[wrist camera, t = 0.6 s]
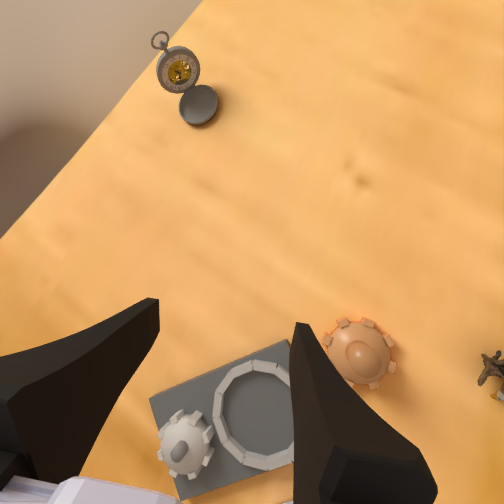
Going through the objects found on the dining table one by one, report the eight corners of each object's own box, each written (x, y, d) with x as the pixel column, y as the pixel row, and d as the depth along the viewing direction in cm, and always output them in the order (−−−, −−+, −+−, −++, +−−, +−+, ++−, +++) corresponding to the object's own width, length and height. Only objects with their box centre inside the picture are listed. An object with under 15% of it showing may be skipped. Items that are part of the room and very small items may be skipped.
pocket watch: (207, 132, 41) (175, 83, 31) (166, 116, 43) (125, 66, 33) (230, 87, 41) (206, 25, 31) (189, 73, 43) (154, 11, 33)
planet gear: (406, 371, 31) (427, 389, 25) (340, 395, 32) (347, 417, 26) (371, 305, 32) (384, 309, 27) (310, 331, 33) (311, 339, 28)
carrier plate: (332, 440, 31) (336, 468, 26) (186, 492, 34) (165, 526, 29) (286, 338, 34) (283, 347, 29) (154, 394, 37) (131, 410, 32)
